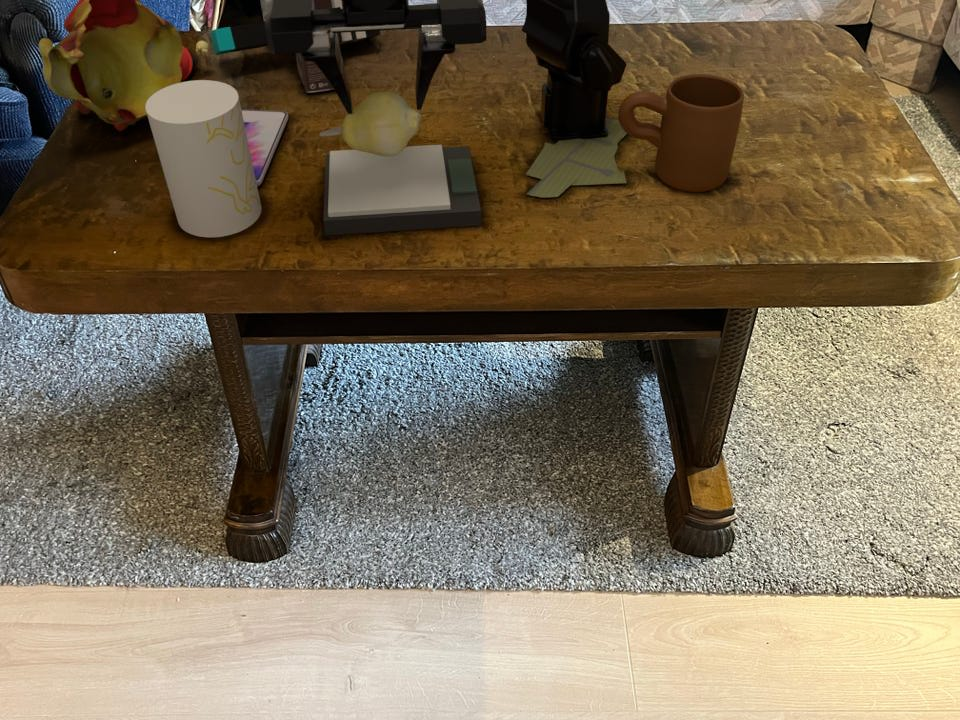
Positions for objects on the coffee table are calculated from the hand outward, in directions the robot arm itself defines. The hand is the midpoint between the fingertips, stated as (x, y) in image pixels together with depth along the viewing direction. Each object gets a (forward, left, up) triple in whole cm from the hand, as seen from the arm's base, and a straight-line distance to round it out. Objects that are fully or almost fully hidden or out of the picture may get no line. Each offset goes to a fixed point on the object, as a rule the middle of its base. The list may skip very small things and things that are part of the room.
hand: (384, 109), depth 83 cm
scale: (-1, 0, -10) cm, 10 cm away
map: (-21, -5, -10) cm, 23 cm away
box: (+8, -26, -10) cm, 29 cm away
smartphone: (+16, -11, -10) cm, 21 cm away
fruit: (+2, 0, -4) cm, 5 cm away
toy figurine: (+25, -28, -10) cm, 39 cm away
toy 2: (+20, -30, -6) cm, 37 cm away
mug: (-29, -1, -10) cm, 31 cm away
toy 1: (+24, -15, -5) cm, 29 cm away
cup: (+17, +1, -10) cm, 20 cm away
